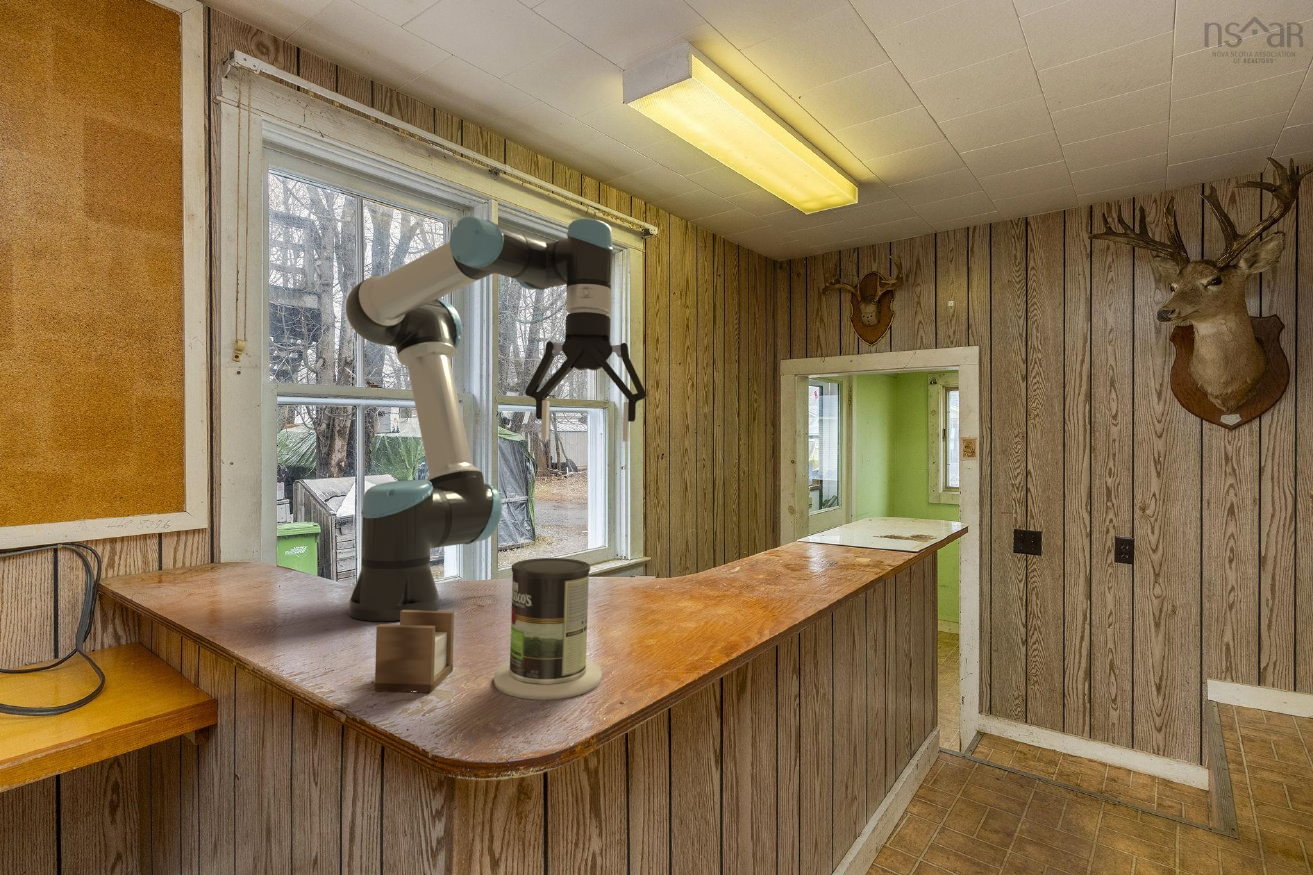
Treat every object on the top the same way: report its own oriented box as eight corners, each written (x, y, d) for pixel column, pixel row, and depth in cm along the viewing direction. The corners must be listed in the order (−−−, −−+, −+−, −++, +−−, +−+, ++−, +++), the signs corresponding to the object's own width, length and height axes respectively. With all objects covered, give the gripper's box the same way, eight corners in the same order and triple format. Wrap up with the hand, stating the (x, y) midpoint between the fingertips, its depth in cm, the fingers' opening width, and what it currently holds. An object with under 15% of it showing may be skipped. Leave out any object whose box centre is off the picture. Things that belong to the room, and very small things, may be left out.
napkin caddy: (374, 690, 80) (376, 626, 80) (401, 668, 88) (403, 609, 88) (430, 692, 80) (432, 628, 80) (452, 670, 88) (454, 611, 88)
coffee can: (522, 690, 79) (526, 574, 79) (499, 664, 88) (502, 560, 88) (600, 677, 84) (602, 568, 84) (570, 654, 93) (573, 555, 93)
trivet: (480, 697, 79) (480, 689, 79) (509, 659, 93) (509, 652, 93) (594, 701, 79) (595, 693, 79) (606, 662, 93) (606, 655, 93)
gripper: (509, 308, 106) (505, 438, 106) (661, 311, 105) (658, 442, 105) (520, 317, 113) (517, 438, 113) (662, 320, 113) (659, 442, 112)
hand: (585, 440), depth 109 cm, fingers open, 13 cm apart
